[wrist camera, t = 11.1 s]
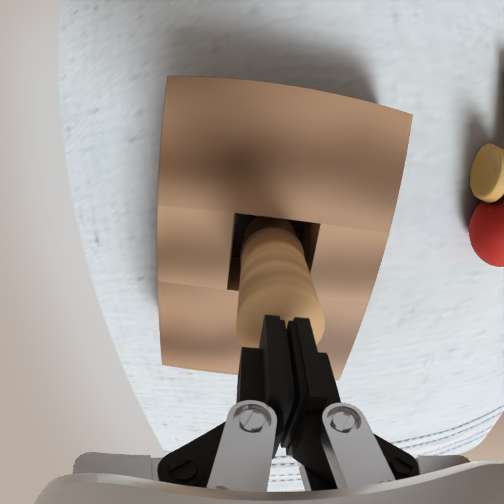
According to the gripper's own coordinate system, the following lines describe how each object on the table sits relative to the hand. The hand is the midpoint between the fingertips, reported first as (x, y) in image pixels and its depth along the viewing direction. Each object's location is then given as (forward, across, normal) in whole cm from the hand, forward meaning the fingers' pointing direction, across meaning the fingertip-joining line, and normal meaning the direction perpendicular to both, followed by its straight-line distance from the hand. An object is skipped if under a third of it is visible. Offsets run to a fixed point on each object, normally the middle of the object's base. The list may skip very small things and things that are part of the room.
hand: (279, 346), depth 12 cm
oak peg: (+13, 0, 0) cm, 13 cm away
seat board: (+13, 0, 0) cm, 13 cm away
